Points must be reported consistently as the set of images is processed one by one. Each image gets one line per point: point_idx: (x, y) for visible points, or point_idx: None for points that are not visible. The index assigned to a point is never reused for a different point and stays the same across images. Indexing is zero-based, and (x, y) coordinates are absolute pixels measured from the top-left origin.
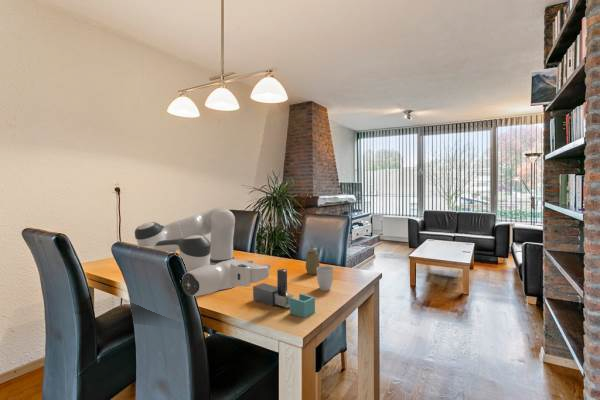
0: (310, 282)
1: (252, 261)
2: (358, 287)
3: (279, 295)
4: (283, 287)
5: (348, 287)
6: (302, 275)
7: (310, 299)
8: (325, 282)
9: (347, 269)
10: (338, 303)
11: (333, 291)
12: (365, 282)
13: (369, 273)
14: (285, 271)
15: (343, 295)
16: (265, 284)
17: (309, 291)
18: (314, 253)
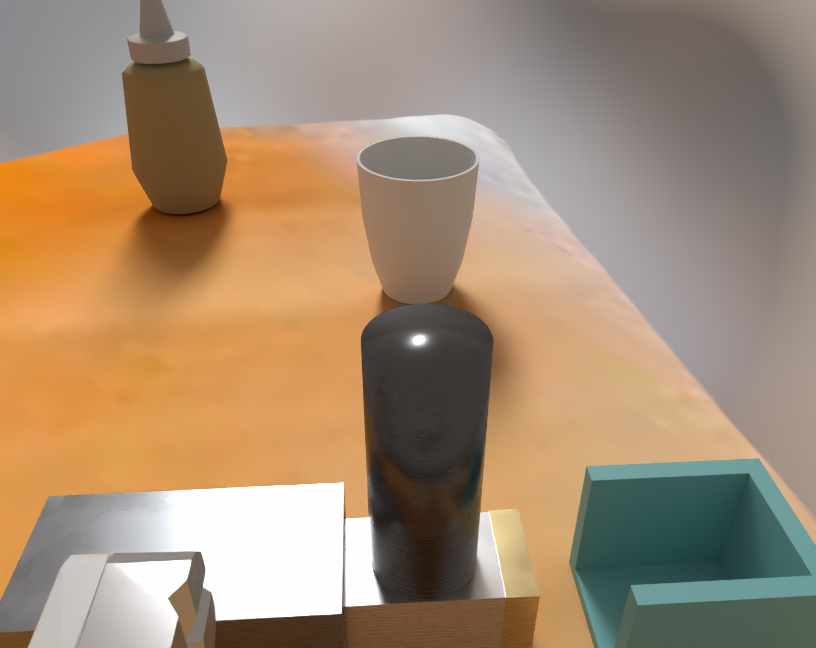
0: (267, 271)
1: (198, 572)
2: (542, 215)
3: (435, 600)
4: (474, 512)
5: (505, 232)
6: (144, 234)
7: (789, 509)
8: (452, 253)
9: (319, 129)
10: (671, 375)
11: (490, 289)
12: (514, 176)
13: (441, 125)
14: (491, 340)
15: (581, 298)
16: (104, 509)
17: None
18: (189, 69)
